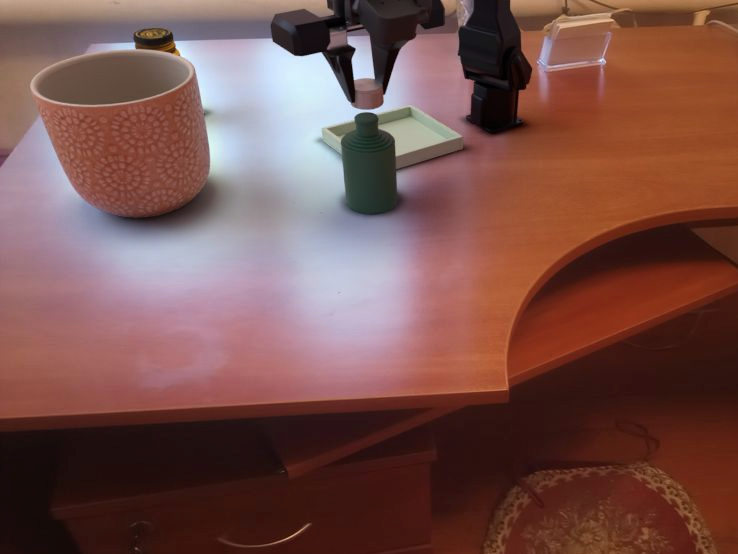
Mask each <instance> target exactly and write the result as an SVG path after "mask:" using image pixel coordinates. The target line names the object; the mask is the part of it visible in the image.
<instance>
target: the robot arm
mask: <svg viewBox="0 0 738 554" xmlns="http://www.w3.org/2000/svg"><path fill="white" fill-rule="evenodd" d="M326 7H327V9H328V10H331V11H332V12H333V14H330V15H326V16H318V15H316V14H315V13H313V12H311V11H310V10H307V9H306V8H301V9H294V10H290V11H284V12H278V13H274V15H273V18H272V20H271V23H270V33H271V39H272V40H271V41H272V42H273V43H274V44H275V45H277V46H279V47H280V48H283V50H285V51H287V52H288V53H290V54H291V55H293V56H294V57H306V56H310V55H316V54H322V55H323V57H324V59H325V61H326V62H327V63H328V65H329V67H330V69H331V71H332V72H333V74H334V77H335V79H336V80H337V82H338V84H339V87H340V88H341V90H342V92H343V94H344V96H345V98H346V100H347V101H348V102H349V103H350V104H351V103H355V84H354V80H355V77H354V76H355V75H354V68H353V67H354V66H353V57H354V55H355V53H356V51H357V48H356V47H354V46H352V45H351V44H349V41H348V33H351V32H356V31H361V30H365V31H366V32H367V33H368V35H369V42H370V51H371V60H372V67H373V75H374V79H376V80H379V81H380V82H382V86H383V96H386V94H387V90H388V86H389V83H390V80H391V77H392V74H393V71H394V67H395V64H396V61H397V59H398V56H399V54H400V51H401V49H402V48H403V47H404V46H405V45H406V44H407V43H408V42H409V41H413V40H415V39H416V38H417V27H418V26H419V27H420V28H421V29H423V30H425V31H426V30H431V29H435V28H440V27H444V26H445V24H446V7H445V6H444V3H443V1H442V0H326ZM457 35H458V50H457V56H458V57H459V60H460V64H461V67H462V73H463V77H464V79H465V80H470V81H473V89H472V93H471V95H470V113H469V114H467V115H465V119H466V121H469V122H470V123H472V124H473V125H475V126H477V127H479V128H480V129H482V130H484V131H485V132H487V133H489V134H495V133H498V132H501V131H506V130H509V129H511V128H515V127H518V126H523V125H524V122H525V120H524V119H523V118H520V117H518V111H519V109H518V108H519V96H520V91H525V90H526V89H527V85H529V84H530V83H531V78H532V73H533V66H532V65H531V64H530V62H529V60H528V58H527V57H526V56H525V54H524V52H523V51H522V31H521V29H520V27H519V25H518V22H517V20H516V18H515V16H514V14H513V12H512V10H511V0H473V9H472V12H471V14H470V15H469V17H468V19H467V20H466V22H465V24H464V25H461V26H460V27H459V28H458V30H457Z"/></svg>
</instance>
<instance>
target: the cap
mask: <svg viewBox="0 0 738 554" xmlns="http://www.w3.org/2000/svg"><path fill="white" fill-rule="evenodd" d="M354 84H355V103H350V106H351V107H353V108H354V109H358V110H362V111H363V110H364V111H370V110H375V109H379V108H381V107H382V106H383V105H384V102H385V100H384V98H385V97H384V95H383V86H382V82H380V81H379V80H376V79H375V78H371V77H364V78H357V79H354Z"/></svg>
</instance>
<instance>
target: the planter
mask: <svg viewBox="0 0 738 554" xmlns="http://www.w3.org/2000/svg"><path fill="white" fill-rule="evenodd" d="M199 85H200V84H199V79H198V76H197V72H196V68H195V66H194V64H193V63H192V62H191V61H189V60H188V59H187V58H185V57H183V56H182V55H180V56H178V55H176V54H172V53H168V52H163V51H156V50H143V49H136V48H133V49H132V48H131V49H128V48H127V49H113V50H104V51H103V50H102V51H96V52H90V53H86V54H82V55H77V56H73V57H70V58H67V59H63V60H61V61H58V62H55V63H54V64H51V65H50V66H47V67H45V68H43V69H42V70H40V71H39V72H38V73H37V74H36V75H35V76H34V77H33V78H32V80H31V81H30V88H29V89H30V92H31V94H32V98H33V100H34V103H35V106H36V108H37V111H38V113H39V116H40V118H41V120H42V123H43V125H44V128H45V131H46V133H47V135H48V137H49V140H50V143H51V145H52V147H53V150H54V152H55V154H56V157H57V159H58V162H59V163H60V166H61V168H62V171H63V173H64V174H65V176H66V178H67V180H68V182H69V183H70V184H71V186H72V188H73V190H74V191H75V192H76V193H77V194H78V195H79V197H80V198H81V199H82V200H84V201H85V202H86V203H88V204H89V205H91V206H92V207H94V208H96V209H99V210H100V211H102V212H105V213H107V214H111V215H114V216H119V217H124V218H133V219H135V218H137V219H141V218H149V217H150V218H152V217H157V216H161V215H165V214H169V213H171V212H173V211H176V210H178V209H181V208H182V207H183V206H186V205H187V204H189V202H190V201H192V200H193V199H194V198H195V197H196V196H197V195H198V194H199V193H200V192H201V191H202V189H203V188H204V187H205V185H206V183H207V180H208V178H209V175H210V170H211V151H210V143H209V135H208V130H207V123H206V117H205V113H204V112H203V111H204V108H203V107H204V106H203V102H202V95H201V91H200V86H199Z"/></svg>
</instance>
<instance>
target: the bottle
mask: <svg viewBox="0 0 738 554" xmlns="http://www.w3.org/2000/svg"><path fill="white" fill-rule="evenodd" d="M376 114H377V113H374V112H370V111H364V112H359V113H357V114H355V116H354V117H353V120H355V124H356V130H353V131H351V132H349V133H347V134H346V135H344V137H343V138H342V139H341V151H342V155H341V161H342V170H343V181H344V192H345V193H344V194H345V203H346V206H347V207H348V208H349V209H350V210H352V211H354V212H356V213H359V214H365V215H376V214H381V213H386V212H388V211H390V210H392V209H393V208H394V207H395V206H397V204H398V182H397V180H398V179H397V169H396V151H395V139H394V137H393V136H392V135H391V134H390V133H388V132H386V131H384V130H381V129H378V121H379V119H378V116H377V115H376Z"/></svg>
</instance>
